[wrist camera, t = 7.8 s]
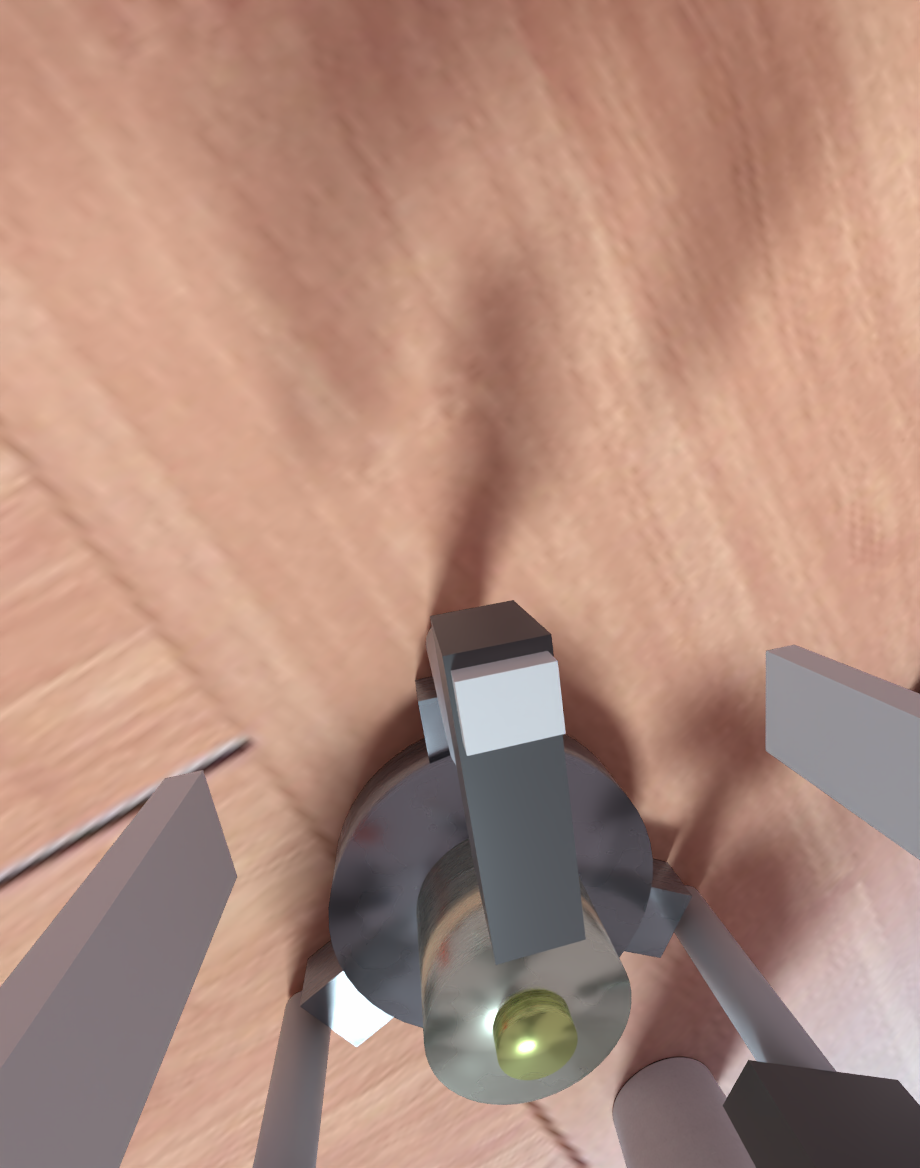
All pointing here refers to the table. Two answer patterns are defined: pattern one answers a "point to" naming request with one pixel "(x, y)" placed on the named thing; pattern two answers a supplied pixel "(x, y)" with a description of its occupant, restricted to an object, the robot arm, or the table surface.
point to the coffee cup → (676, 1119)
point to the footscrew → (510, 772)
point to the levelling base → (426, 831)
